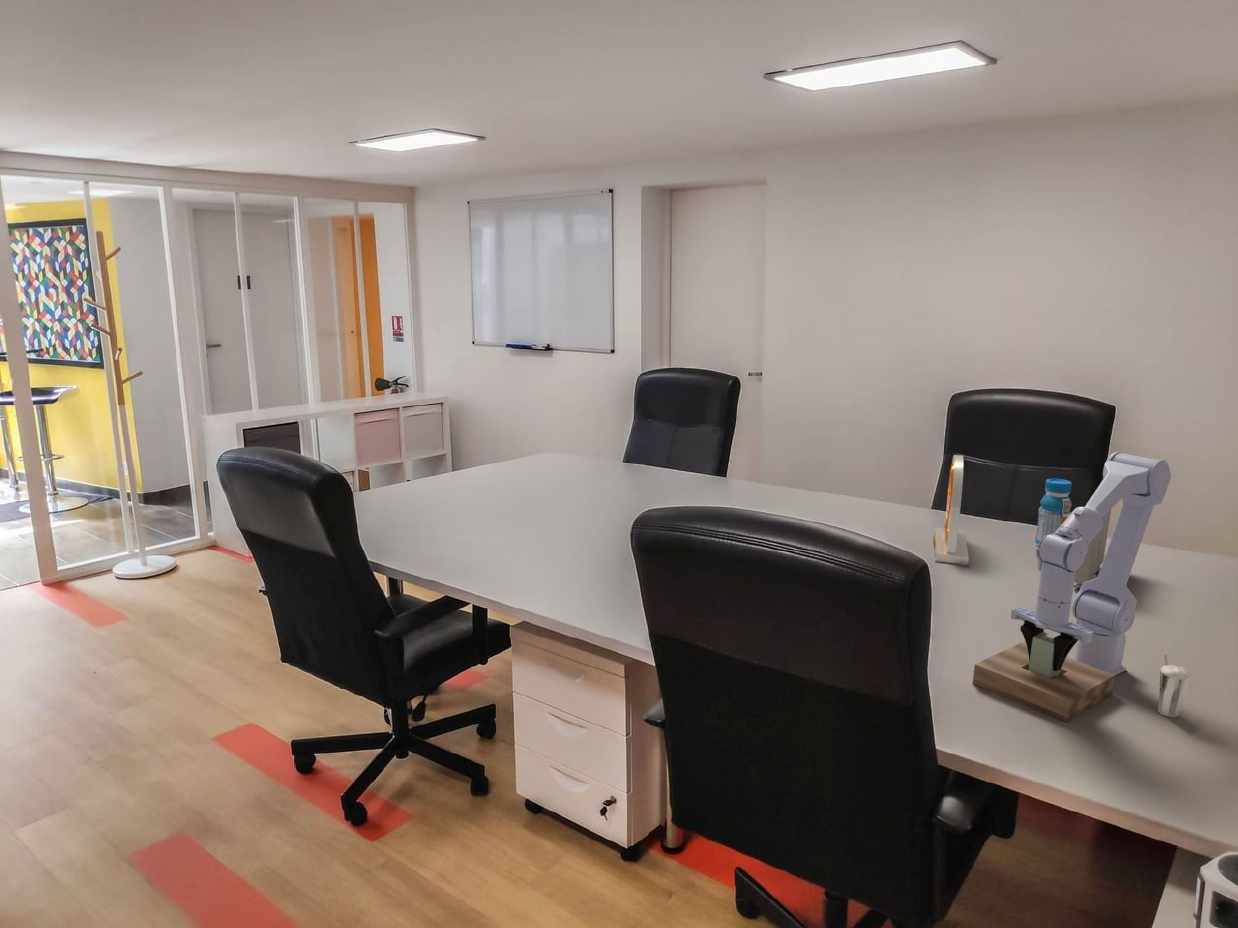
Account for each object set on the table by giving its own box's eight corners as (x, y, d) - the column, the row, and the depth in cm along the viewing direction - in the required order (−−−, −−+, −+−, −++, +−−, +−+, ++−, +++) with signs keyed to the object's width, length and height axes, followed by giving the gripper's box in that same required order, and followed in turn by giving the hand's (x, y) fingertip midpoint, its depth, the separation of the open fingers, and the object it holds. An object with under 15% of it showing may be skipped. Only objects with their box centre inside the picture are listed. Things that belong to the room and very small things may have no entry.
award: (932, 533, 262) (941, 445, 256) (963, 537, 260) (973, 448, 254) (933, 561, 237) (943, 464, 231) (967, 565, 234) (978, 467, 228)
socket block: (1020, 659, 176) (1023, 641, 175) (1112, 694, 162) (1115, 674, 161) (972, 683, 165) (974, 664, 165) (1066, 722, 151) (1069, 701, 151)
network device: (1096, 595, 213) (1107, 518, 209) (1057, 587, 218) (1068, 512, 214) (1111, 569, 233) (1122, 498, 229) (1076, 562, 238) (1086, 493, 234)
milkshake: (1168, 704, 158) (1177, 655, 156) (1188, 719, 153) (1197, 668, 151) (1145, 704, 158) (1153, 654, 156) (1164, 719, 153) (1173, 668, 151)
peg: (1038, 670, 166) (1043, 631, 164) (1058, 678, 163) (1064, 639, 161) (1027, 675, 164) (1032, 636, 162) (1048, 683, 160) (1054, 644, 159)
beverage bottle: (1036, 549, 249) (1045, 482, 245) (1032, 541, 257) (1040, 476, 252) (1068, 552, 247) (1078, 485, 242) (1063, 544, 254) (1072, 479, 250)
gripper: (1006, 590, 163) (997, 656, 166) (1083, 615, 152) (1073, 685, 155) (1025, 583, 167) (1016, 647, 170) (1102, 606, 156) (1091, 675, 159)
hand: (1044, 664), depth 163 cm, fingers closed on peg, 4 cm apart
